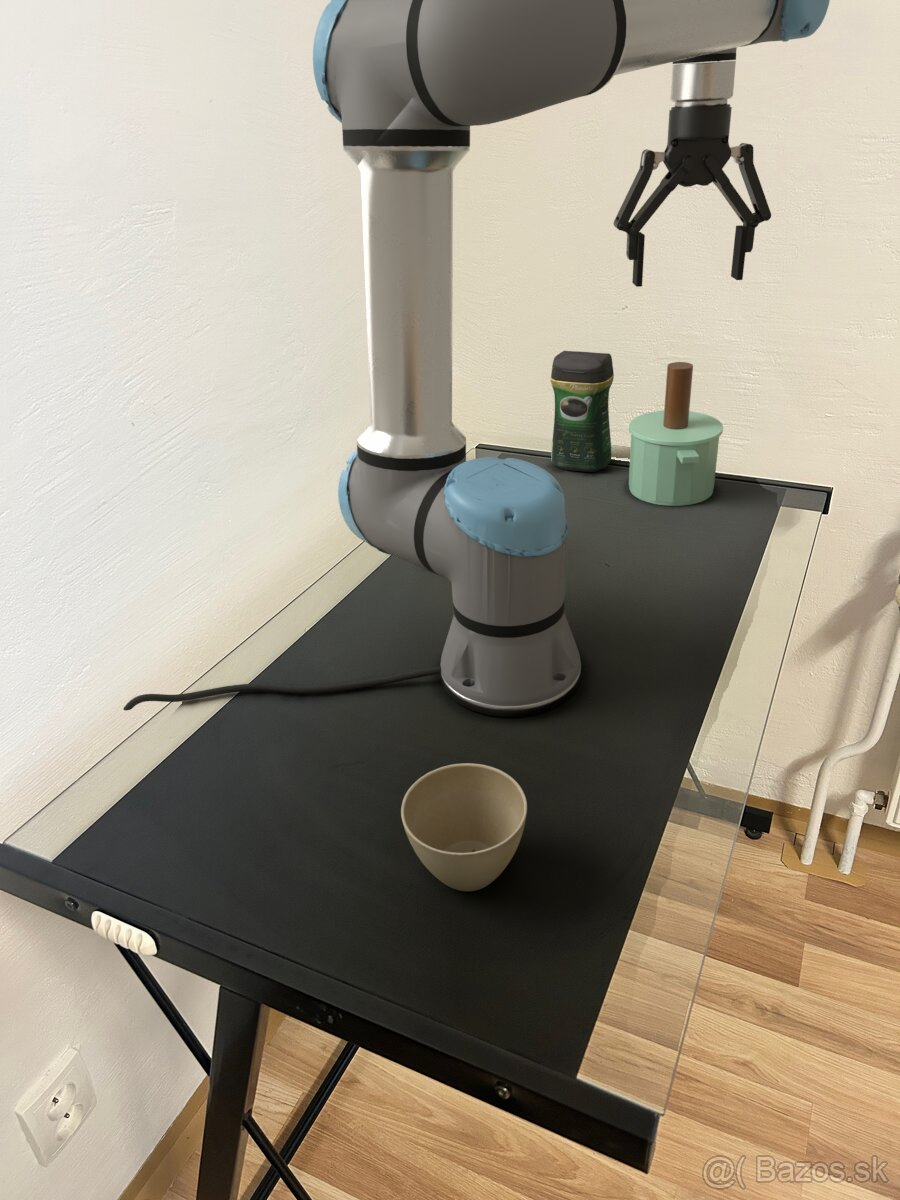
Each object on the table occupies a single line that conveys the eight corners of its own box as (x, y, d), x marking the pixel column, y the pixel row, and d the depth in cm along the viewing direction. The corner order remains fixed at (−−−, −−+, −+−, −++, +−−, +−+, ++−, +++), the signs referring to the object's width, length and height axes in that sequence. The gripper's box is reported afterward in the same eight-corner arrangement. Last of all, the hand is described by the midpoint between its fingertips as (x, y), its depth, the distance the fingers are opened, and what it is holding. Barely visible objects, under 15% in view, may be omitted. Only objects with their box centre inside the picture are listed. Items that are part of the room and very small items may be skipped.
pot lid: (639, 452, 126) (643, 382, 121) (620, 420, 137) (623, 355, 132) (734, 446, 126) (742, 376, 121) (707, 415, 137) (713, 349, 132)
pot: (642, 516, 128) (646, 455, 123) (618, 469, 144) (621, 412, 139) (729, 510, 128) (736, 449, 123) (695, 463, 144) (700, 407, 139)
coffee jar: (616, 459, 147) (621, 347, 138) (601, 477, 141) (604, 361, 132) (561, 452, 151) (562, 343, 142) (544, 469, 145) (544, 357, 136)
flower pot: (394, 842, 76) (387, 780, 73) (502, 812, 79) (500, 751, 75) (427, 933, 68) (421, 868, 64) (547, 896, 70) (547, 832, 67)
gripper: (790, 96, 113) (768, 270, 123) (595, 108, 113) (591, 281, 124) (812, 97, 106) (787, 280, 117) (606, 111, 106) (600, 293, 117)
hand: (686, 281), depth 120 cm, fingers open, 13 cm apart
